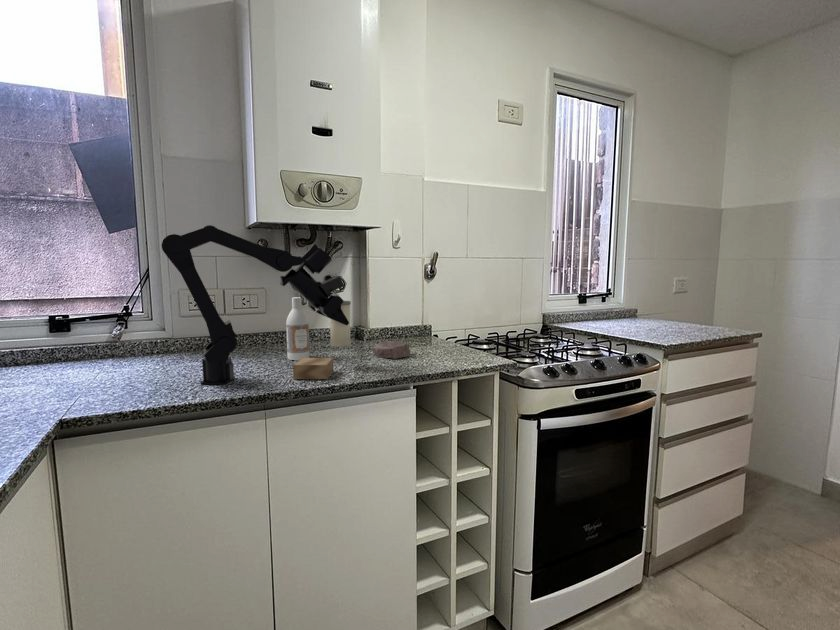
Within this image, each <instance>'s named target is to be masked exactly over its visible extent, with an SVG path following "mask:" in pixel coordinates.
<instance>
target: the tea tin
mask: <svg viewBox="0 0 840 630" xmlns="http://www.w3.org/2000/svg"><path fill="white" fill-rule="evenodd" d="M341 310H342V311H343V313H344V315H345V316H346V318H347V320H348V321H349V324H348V325H344V324H342V323H340V322H337V321H335V320H333V319H330V318H329V319H330V321H329V322H330V323H329V324H330V329H329V330H330V331H329V333H330V334H329V335H330V338H329V339H330V347H335V348H345V347H350V346H351V300H344V301H343V303H342V304H341Z"/></svg>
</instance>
